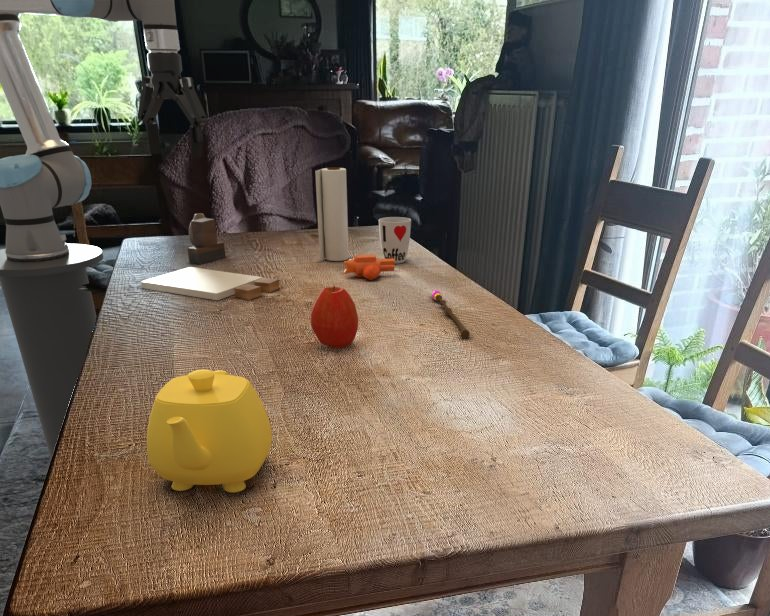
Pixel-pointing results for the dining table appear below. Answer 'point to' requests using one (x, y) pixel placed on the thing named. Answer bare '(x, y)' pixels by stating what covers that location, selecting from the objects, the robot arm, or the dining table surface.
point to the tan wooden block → (267, 284)
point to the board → (199, 283)
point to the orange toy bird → (368, 266)
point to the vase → (196, 217)
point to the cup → (395, 237)
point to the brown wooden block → (247, 291)
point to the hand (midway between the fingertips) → (176, 155)
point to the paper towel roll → (332, 213)
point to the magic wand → (448, 311)
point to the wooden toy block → (205, 242)
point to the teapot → (208, 431)
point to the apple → (334, 318)
